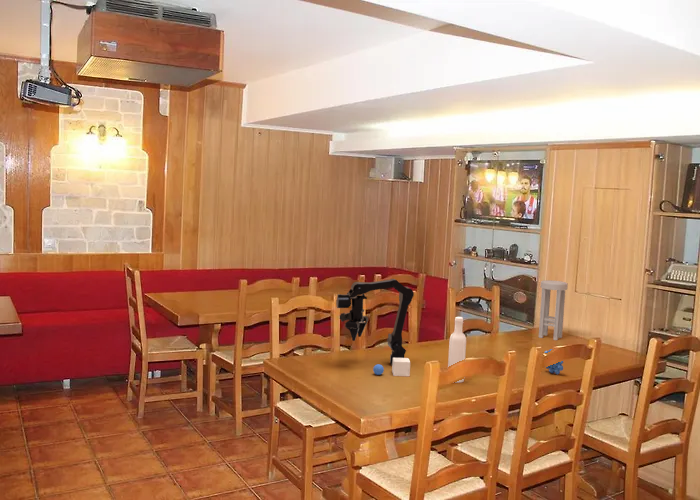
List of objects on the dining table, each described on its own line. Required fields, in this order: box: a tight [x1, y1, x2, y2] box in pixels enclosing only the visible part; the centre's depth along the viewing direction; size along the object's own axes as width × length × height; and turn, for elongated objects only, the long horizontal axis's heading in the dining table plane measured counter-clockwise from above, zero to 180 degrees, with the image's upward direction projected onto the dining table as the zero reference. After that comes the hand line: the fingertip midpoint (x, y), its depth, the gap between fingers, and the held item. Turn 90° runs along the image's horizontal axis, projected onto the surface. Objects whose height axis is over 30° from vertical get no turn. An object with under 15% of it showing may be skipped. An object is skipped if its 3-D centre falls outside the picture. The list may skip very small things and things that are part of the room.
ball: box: [372, 363, 385, 376], centre depth 317 cm, size 5×5×5 cm
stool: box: [538, 279, 569, 341], centre depth 416 cm, size 16×16×35 cm
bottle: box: [447, 316, 467, 384], centre depth 312 cm, size 8×8×30 cm
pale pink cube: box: [391, 357, 411, 377], centre depth 320 cm, size 8×8×7 cm
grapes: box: [543, 348, 564, 375], centre depth 332 cm, size 12×7×12 cm, turn 42°
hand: (356, 338), depth 332 cm, fingers open, 9 cm apart
